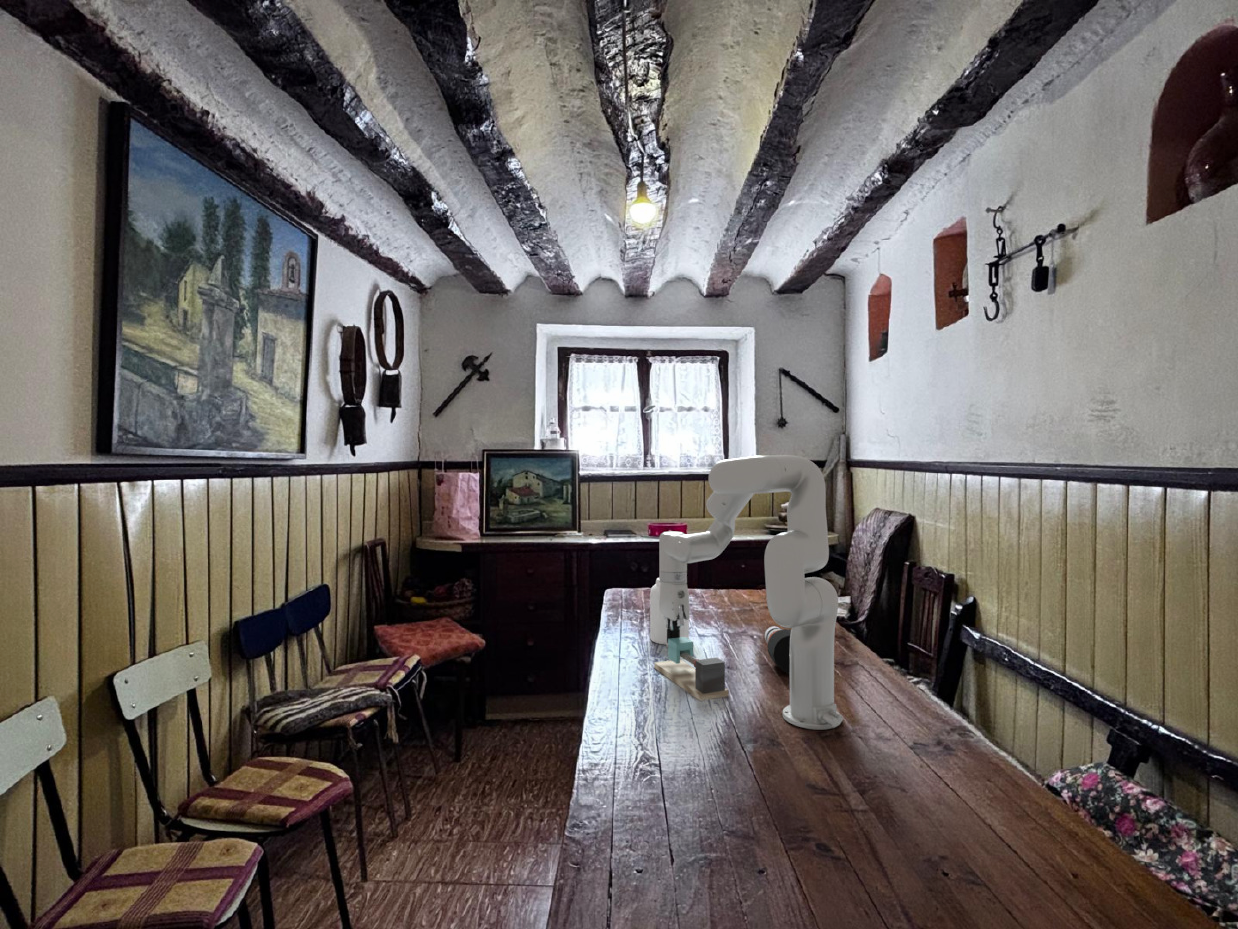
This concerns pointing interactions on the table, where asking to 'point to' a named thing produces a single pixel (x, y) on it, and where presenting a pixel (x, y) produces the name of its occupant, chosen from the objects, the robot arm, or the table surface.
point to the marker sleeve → (679, 648)
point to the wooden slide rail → (696, 676)
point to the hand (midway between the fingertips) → (673, 643)
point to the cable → (779, 647)
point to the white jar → (661, 618)
